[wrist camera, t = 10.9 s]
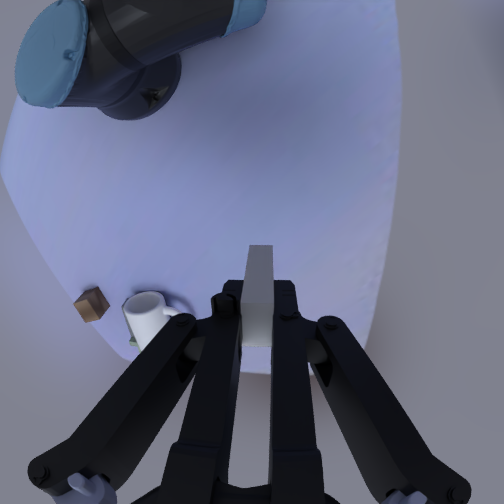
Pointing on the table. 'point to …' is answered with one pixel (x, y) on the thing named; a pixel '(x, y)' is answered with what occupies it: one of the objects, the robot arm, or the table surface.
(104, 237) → the table surface
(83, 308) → the walnut block
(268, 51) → the table surface
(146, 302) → the mug
